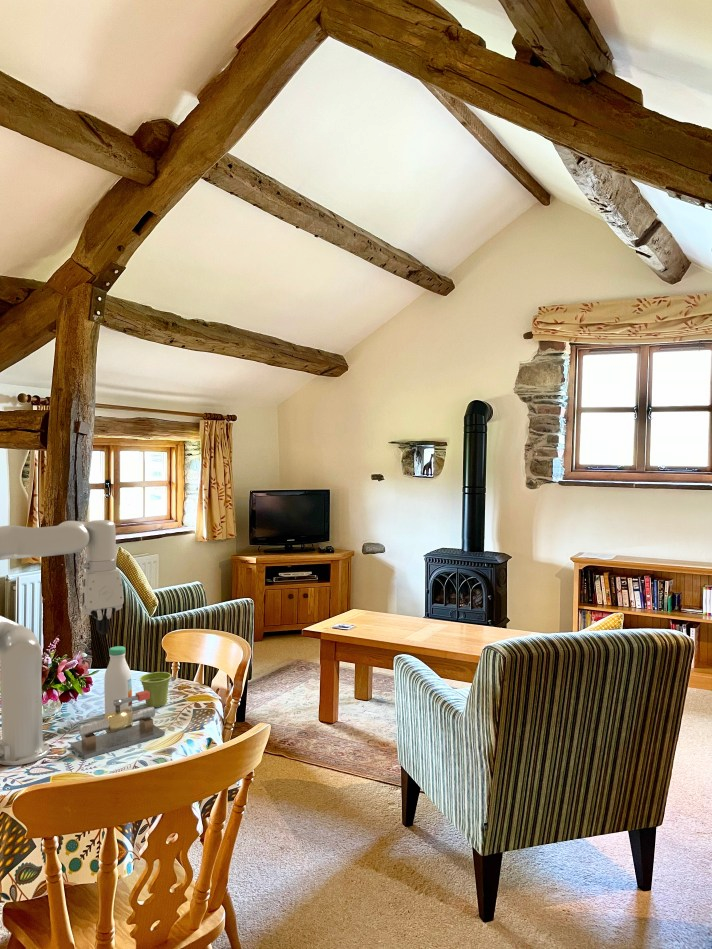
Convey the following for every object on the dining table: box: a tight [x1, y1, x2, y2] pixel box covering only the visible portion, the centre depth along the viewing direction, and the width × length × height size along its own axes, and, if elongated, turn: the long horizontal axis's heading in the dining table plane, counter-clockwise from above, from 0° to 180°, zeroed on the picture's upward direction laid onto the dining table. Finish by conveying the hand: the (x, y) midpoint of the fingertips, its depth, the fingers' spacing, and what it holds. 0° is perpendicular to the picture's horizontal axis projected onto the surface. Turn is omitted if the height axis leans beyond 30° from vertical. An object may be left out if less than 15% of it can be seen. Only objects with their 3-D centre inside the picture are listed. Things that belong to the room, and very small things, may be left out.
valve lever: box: [113, 690, 150, 706], centre depth 193 cm, size 10×2×2 cm, turn 135°
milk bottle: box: [103, 645, 133, 715], centre depth 210 cm, size 8×8×20 cm
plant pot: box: [139, 671, 172, 708], centre depth 218 cm, size 9×9×9 cm
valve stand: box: [70, 706, 166, 760], centre depth 190 cm, size 22×10×10 cm, turn 131°
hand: (103, 633), depth 191 cm, fingers closed
